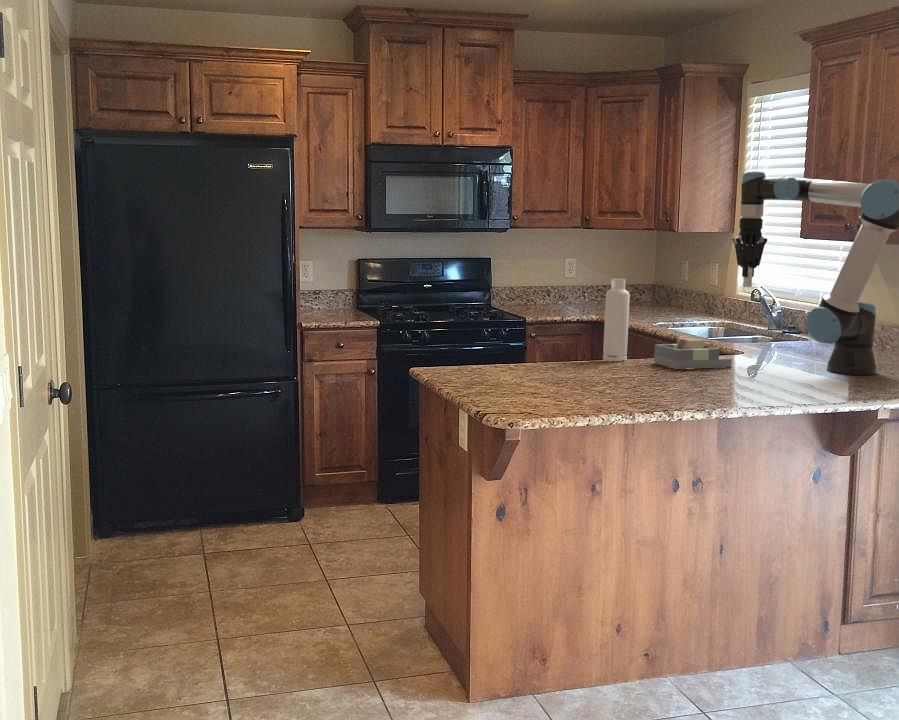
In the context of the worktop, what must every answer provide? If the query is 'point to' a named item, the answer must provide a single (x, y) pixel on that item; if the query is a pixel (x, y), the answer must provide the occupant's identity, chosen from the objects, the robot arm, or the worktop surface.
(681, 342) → the block
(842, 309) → the robot arm
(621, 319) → the bottle
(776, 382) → the worktop surface
